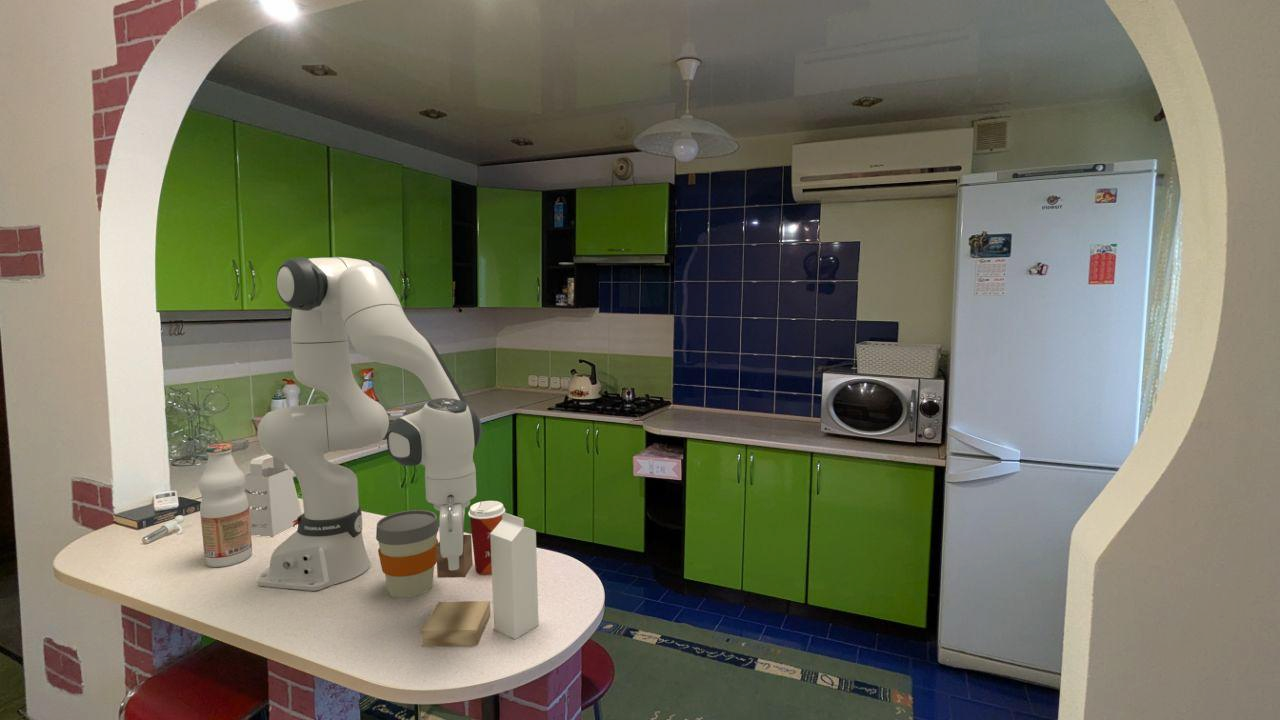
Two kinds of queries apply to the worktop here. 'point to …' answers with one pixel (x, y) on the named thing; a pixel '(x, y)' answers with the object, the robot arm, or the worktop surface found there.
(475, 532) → the coffee cup
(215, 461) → the fruit juice
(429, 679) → the worktop surface
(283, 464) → the grater
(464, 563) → the walnut cube
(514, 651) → the worktop surface
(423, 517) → the reusable coffee cup
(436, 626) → the oak plinth
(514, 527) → the milk
